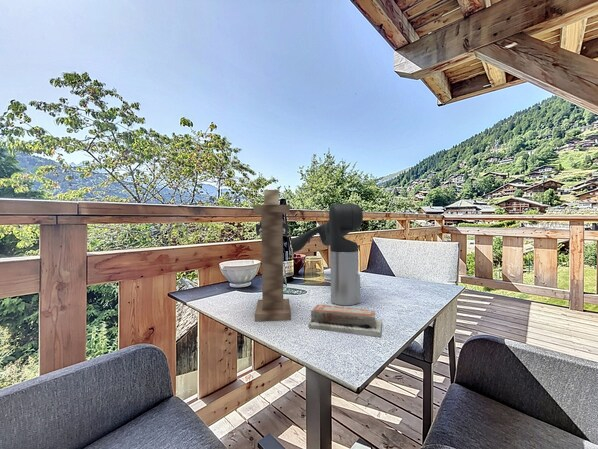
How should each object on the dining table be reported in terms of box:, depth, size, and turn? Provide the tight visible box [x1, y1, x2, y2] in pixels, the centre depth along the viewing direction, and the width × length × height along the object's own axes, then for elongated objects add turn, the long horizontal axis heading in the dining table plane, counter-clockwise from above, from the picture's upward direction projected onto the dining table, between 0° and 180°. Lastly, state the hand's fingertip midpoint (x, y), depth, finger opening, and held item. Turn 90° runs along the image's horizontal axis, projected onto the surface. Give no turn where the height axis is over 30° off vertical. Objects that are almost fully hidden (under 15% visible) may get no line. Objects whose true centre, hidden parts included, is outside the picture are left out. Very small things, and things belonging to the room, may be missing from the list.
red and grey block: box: [307, 304, 383, 338], centre depth 69 cm, size 18×5×10 cm
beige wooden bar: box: [263, 189, 280, 205], centre depth 84 cm, size 4×24×4 cm, turn 5°
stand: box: [252, 204, 292, 322], centre depth 80 cm, size 10×14×32 cm
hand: (272, 221), depth 110 cm, fingers open, 8 cm apart
